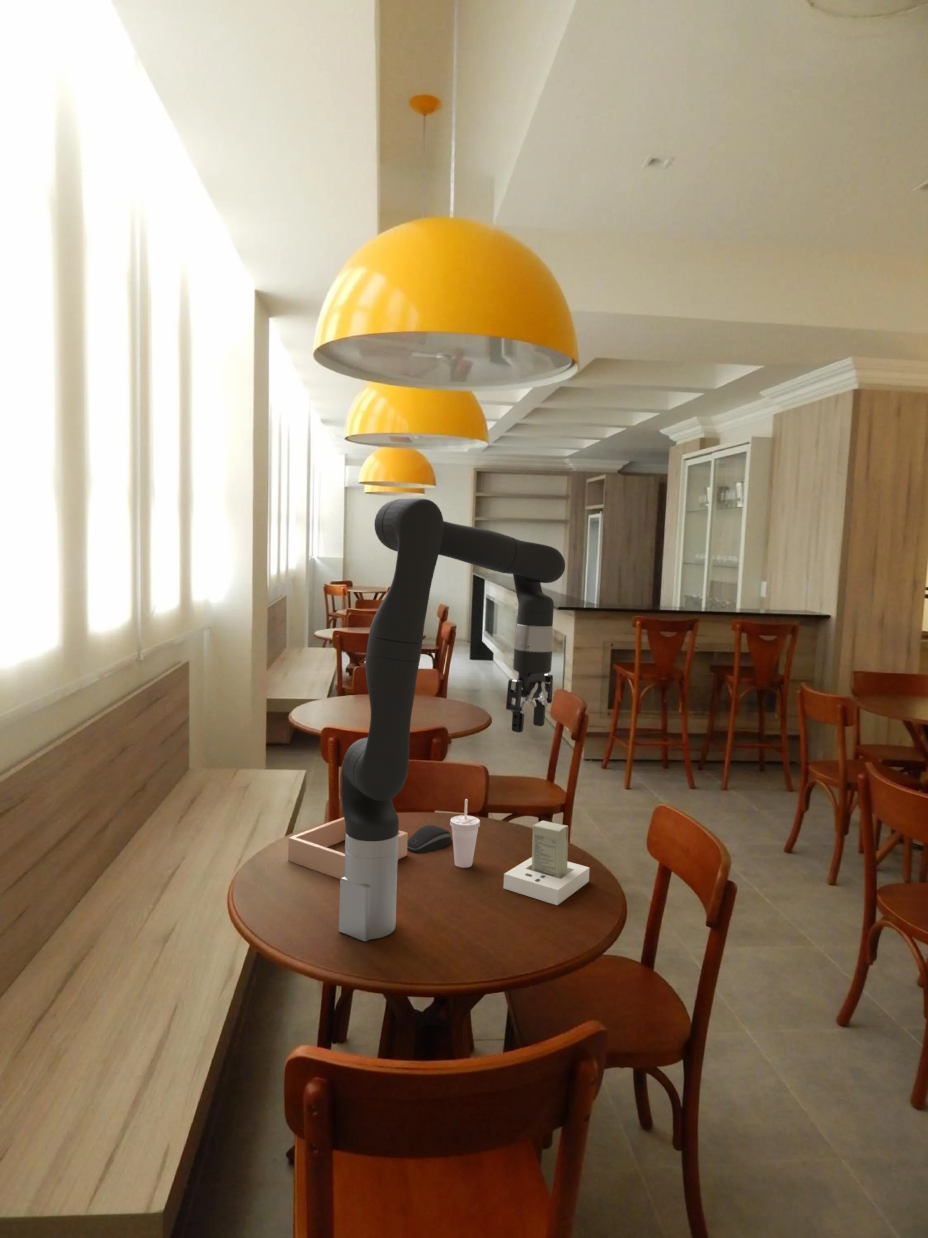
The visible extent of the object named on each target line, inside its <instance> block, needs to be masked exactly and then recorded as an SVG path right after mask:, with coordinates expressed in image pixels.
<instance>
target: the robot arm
mask: <svg viewBox="0 0 928 1238" xmlns="http://www.w3.org/2000/svg"><path fill="white" fill-rule="evenodd" d="M374 532H375V535H376V536H377V538H378V540H379V541H380V543H381V544H382V545H383V546H385V547H386V548H388V549H389V550H392V551H395V552H397V554H396V562H395V570H394V574H393V578H392V581H391V584H390V587H389V588H388V591H387V593H386V595H385V596H384V597H383V600H382V601H381V603H380V606H379V607H378V608H377V611H376V612H375V614H374V616H373V619H372V622H371V624H370V629H369V633H368V638H367V646H366V654H365V663H364V664H365V667H364V668H365V677H366V685H367V686H366V687H367V693H368V699H369V705H370V706H369V707H370V721H369V728H368V734H367V737H363V738H360V739H357V740H355V741H354V742H353V743H351V745H350V746H349V747H348V749H347V750H346V752H345V754H344V757H343V760H342V767H341V810H342V816H343V817H344V820H345V832H346V834H345V840H344V842H345V843H344V854H345V867H344V877H343V878H341V879H339V906H338V907H339V908H338V909H339V911H338V912H339V914H338V915H339V916H338V932H341V933H343V934H345V935H347V936H350V937H352V938H355V939H357V940H359V941H362V942H368V941H369V940H375V939H380V938H384V937H387V936H388V935H390V934H392V933H393V932H394V931H395V929H396V921H397V920H396V919H397V918H396V915H397V892H398V891H397V885H398V864H399V863H398V861H399V859H398V836H399V831H400V830H399V828H400V820H399V815H398V813H397V811H396V809H395V807H394V804H393V803H394V802H393V798H394V797H396V796H397V795H398V794H399V793H400V792H401V791H402V788H404V785H405V783H406V780H407V777H408V774H409V773H408V772H409V766H410V764H409V763H410V739H411V723H412V713H413V706H414V699H415V695H416V694H415V693H416V686H417V679H418V671H419V666H420V660H421V654H422V649H423V640H424V631H425V622H426V617H427V612H428V607H429V606H428V605H429V600H430V593H431V587H432V582H433V579H434V574H435V569H436V565H437V562H438V558H439V556H443V557H447V558H451V559H454V560H457V561H460V562H463V563H467V564H469V565H474V566H477V567H479V568H480V567H481V568H483V569H487V570H490V571H494V572H497V573H502V574H511V575H512V577H513V583H514V589H515V594H516V599H517V602H518V603H517V604H518V606H517V616H516V617H517V619H516V629H515V634H514V644H513V645H514V647H513V662H512V663H513V664H512V668H513V670H514V671H515V672H517V673H518V675H517V679H513V678H509V680H508V683H507V692H506V693H507V694H506V703H505V709H506V711H507V710H508V711H510V712H511V713H512V716H511V717H512V719H511V731H512V732H516V733H520V734H521V733H522V732H524V724H525V723H524V721H525V710H526V708H527V707H528V705H530V704H531V702H532V701H533V703H534V707H533V719H532V720H533V722H532V724H533V726H537V727H544V726H545V717H546V708H548V705H549V704H552V702H553V688H554V687H553V686H554V685H553V682H554V675H553V674H550V673H551V671H552V662H553V661H552V659H553V648H554V647H553V646H554V645H553V644H554V634H553V633H554V630H553V629H554V625H553V624H554V623H553V622H554V607H555V604H554V603H555V602H554V600H553V598H552V597H550V596H548V595H546V594H545V593H544V592H543V588H542V584H550V583H554V582H557V581H558V580H559V579H560V578H561V577H562V576H563V575H564V573H565V570H566V560H565V557H564V556H563V554H562V553H561V552H560V550H558V549H557V548H555V547H554V546H550V545H547V544H542V543H536V542H531V541H530V542H529V541H525V540H521V539H518V538H515V537H512V536H509V535H507V534H506V535H505V534H504V533H500V532H497V531H494V530H489V529H484V528H479V527H474V526H469V525H462V524H458V523H454V522H449V521H446V520H444V517H443V514H442V511H441V509H440V507H439V506H438V505H437V504H436V503H435V501H433V500H430V499H427V498H421V497H420V498H417V497H416V498H398V499H393V500H390V501H387V502H386V503H385V504H383V505H382V506H380V507H379V510H378V511H377V513H376V515H375V518H374Z"/></svg>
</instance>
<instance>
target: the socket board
mask: <svg viewBox="0 0 928 1238" xmlns="http://www.w3.org/2000/svg"><path fill="white" fill-rule="evenodd" d="M589 881H590V867H588V866H585V865H582V864H578V863H575V862H571V861H569V860H568V861H567V875H566V876H564V877H563V878H561V879H559V878H556V877H552V876H549V875H545V874H542V873H539V872H535V871H532V856H531V857H529V858H528V859H526V860H524V861H523V862H521V863H520V864H518V865H516V866H514V867H513V868H511V869H510V870H508V871H506V872H504V873H503V887H502V888H503V889H504V890H508V891H511V892H514V893H516V894H520V895H524V896H526V897H530V898H533V899H537V900H540V901H542V902H545V903H549V904H552V905H555V906H558V905H560V904H561V903H562V902H564V901H565V900H566V899H568V898H569V897H570V896H572V895H573V894H574V893H575V892H578V891H579V890H581V888H582V887H583V886H585V885H587V884H588V883H589Z"/></svg>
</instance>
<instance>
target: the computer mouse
mask: <svg viewBox="0 0 928 1238" xmlns="http://www.w3.org/2000/svg"><path fill="white" fill-rule="evenodd" d="M451 842H452V835H451V832H450V831H449V830H448V829H445V828H443V827H441V826H438V825H434V824H428V825H424V826H421V827H420V828H419V829H418V830H416V831H415V832H414V833H413V834H412V835H411V836H410V837H409V839H408V842H407V852H411V853H414V854H421V853H428V852H432V851H437V850H439V849H442V848H445V847H446V846H449V845H450V844H451Z"/></svg>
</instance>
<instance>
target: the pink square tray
mask: <svg viewBox="0 0 928 1238" xmlns="http://www.w3.org/2000/svg"><path fill="white" fill-rule="evenodd" d="M345 834H346V832H345V820H344V816H343V817H340V818H338V819H335V820H332V821H330V822H327V823H324V824H321V825H318V826H316V827H313V828H310V829H308V830H306V831H302V832H300V833H297V834H294V835H292V836H289V837H288V842H287V843H288V846H287V850H288V851H287V853H288V854H287V861H289V862H290V863H294V864H296V865H300V866H302V867H305V868H308V869H311V870H314V871H317V872H319V873H322V874H324V875H328V876H329V877H333V878H336V879H339V880H340V879H341V878H343V877H344V867H345V852H344V853H343V852H341V851H337V850H334V849H332V848H329V847H331V846H334V845H335V844H336V845H337V844H338V843H341V842H343V841H344V842H345ZM408 834H409V832H406V831H403V830H399V836H398V860H400V859H402V858H404V857H406V856H408V850H407V842H408V840H409V839H408V836H409V835H408Z"/></svg>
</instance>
